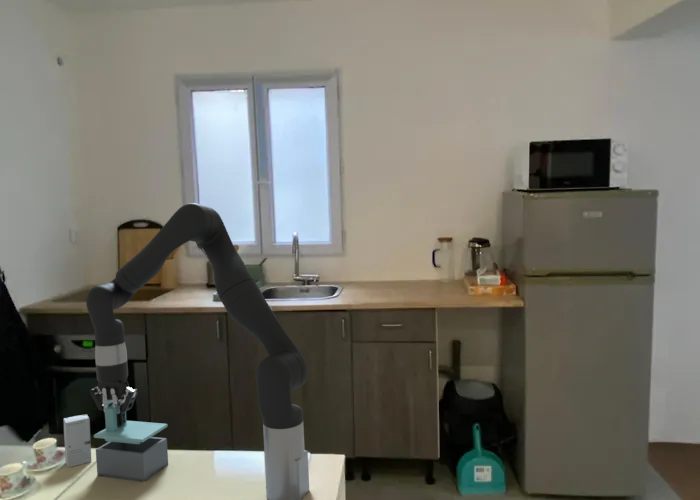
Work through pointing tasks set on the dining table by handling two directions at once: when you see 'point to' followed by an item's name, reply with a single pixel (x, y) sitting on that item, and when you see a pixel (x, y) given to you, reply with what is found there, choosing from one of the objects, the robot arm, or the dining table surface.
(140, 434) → the tub lid
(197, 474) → the dining table surface
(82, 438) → the skincare box
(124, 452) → the box
